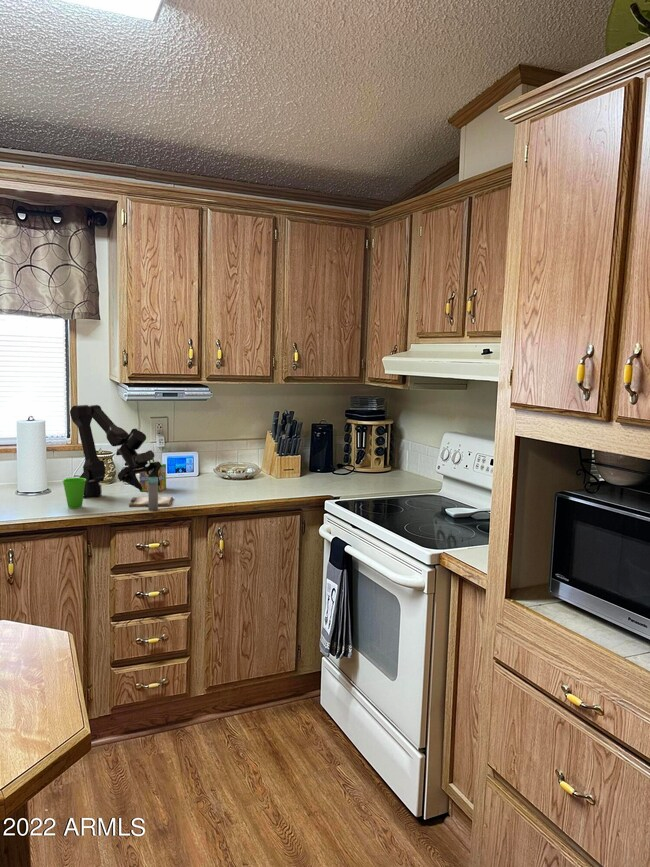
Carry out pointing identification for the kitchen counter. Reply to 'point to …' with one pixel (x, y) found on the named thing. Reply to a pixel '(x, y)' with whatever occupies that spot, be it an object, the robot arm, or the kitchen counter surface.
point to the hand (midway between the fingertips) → (150, 487)
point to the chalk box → (161, 473)
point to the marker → (153, 493)
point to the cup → (74, 491)
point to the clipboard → (145, 501)
